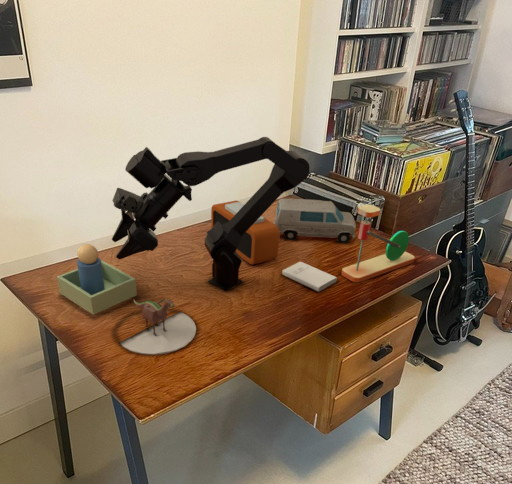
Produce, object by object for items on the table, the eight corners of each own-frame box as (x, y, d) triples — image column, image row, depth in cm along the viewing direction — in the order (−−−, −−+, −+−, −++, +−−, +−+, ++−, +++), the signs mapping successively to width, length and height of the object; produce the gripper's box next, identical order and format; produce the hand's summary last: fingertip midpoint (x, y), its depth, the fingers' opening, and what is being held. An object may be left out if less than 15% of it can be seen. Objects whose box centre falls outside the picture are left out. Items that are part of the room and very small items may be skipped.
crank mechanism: (355, 283, 141) (368, 215, 130) (338, 273, 145) (349, 206, 134) (416, 261, 154) (432, 197, 143) (399, 252, 158) (413, 190, 147)
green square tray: (137, 298, 129) (135, 278, 126) (93, 318, 121) (90, 297, 118) (103, 278, 136) (101, 259, 133) (60, 296, 128) (56, 276, 125)
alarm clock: (210, 234, 161) (210, 198, 155) (233, 229, 165) (235, 194, 159) (253, 267, 145) (255, 229, 139) (277, 261, 149) (281, 223, 143)
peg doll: (109, 294, 128) (103, 245, 120) (91, 302, 125) (83, 252, 117) (96, 286, 131) (89, 237, 123) (77, 294, 127) (69, 244, 120)
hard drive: (318, 292, 136) (281, 275, 143) (336, 282, 141) (300, 265, 148) (318, 287, 135) (282, 269, 142) (337, 276, 140) (301, 260, 147)
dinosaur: (212, 333, 119) (212, 291, 112) (145, 365, 108) (141, 321, 102) (164, 300, 129) (162, 261, 122) (99, 327, 118) (93, 285, 112)
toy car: (354, 244, 161) (359, 213, 155) (273, 239, 161) (276, 208, 155) (349, 229, 170) (354, 200, 164) (273, 225, 169) (275, 195, 164)
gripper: (127, 163, 122) (84, 212, 125) (139, 192, 107) (89, 246, 111) (162, 194, 128) (121, 240, 132) (178, 225, 114) (130, 275, 118)
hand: (115, 249), depth 123 cm, fingers open, 9 cm apart
